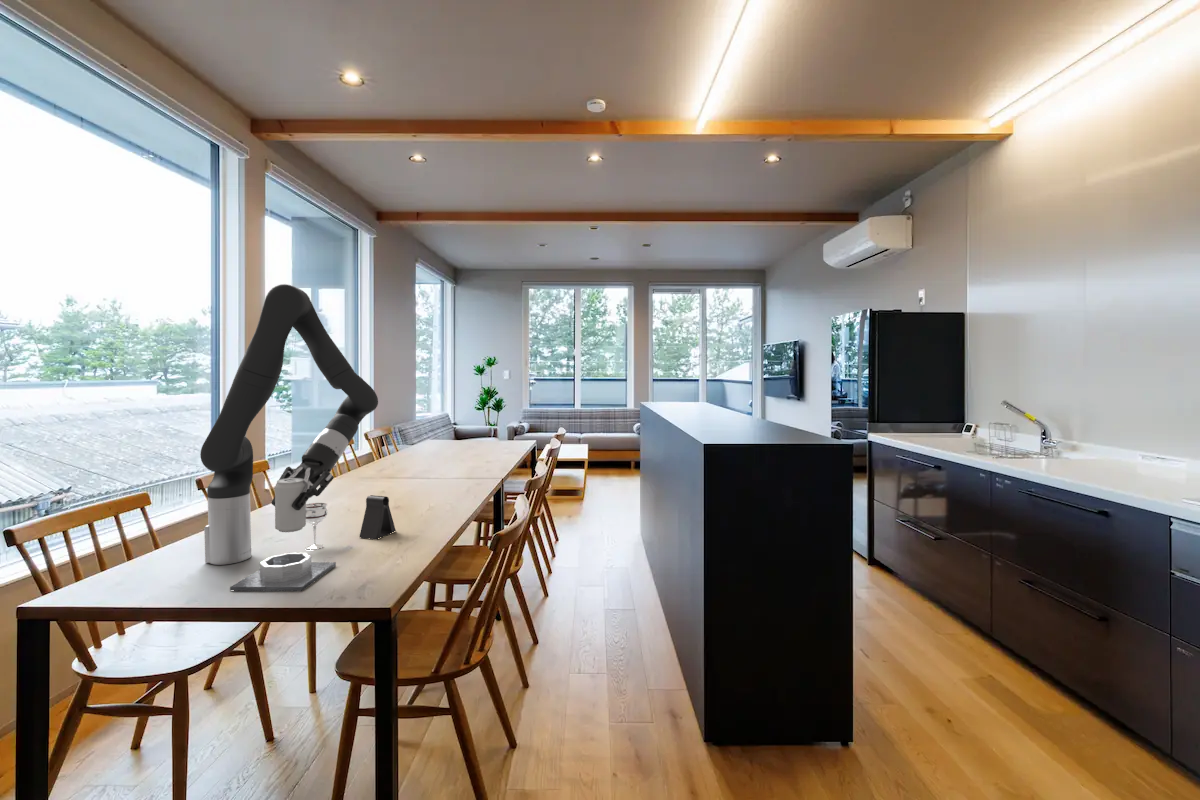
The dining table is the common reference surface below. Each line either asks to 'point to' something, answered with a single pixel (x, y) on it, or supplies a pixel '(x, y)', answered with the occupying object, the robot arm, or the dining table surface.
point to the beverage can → (289, 505)
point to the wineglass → (315, 518)
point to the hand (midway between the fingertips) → (284, 506)
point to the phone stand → (377, 518)
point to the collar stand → (284, 573)
